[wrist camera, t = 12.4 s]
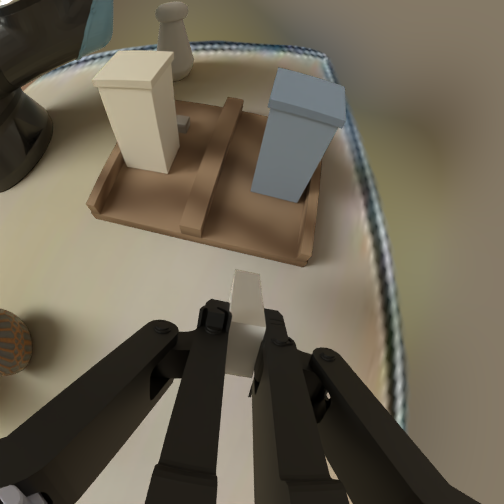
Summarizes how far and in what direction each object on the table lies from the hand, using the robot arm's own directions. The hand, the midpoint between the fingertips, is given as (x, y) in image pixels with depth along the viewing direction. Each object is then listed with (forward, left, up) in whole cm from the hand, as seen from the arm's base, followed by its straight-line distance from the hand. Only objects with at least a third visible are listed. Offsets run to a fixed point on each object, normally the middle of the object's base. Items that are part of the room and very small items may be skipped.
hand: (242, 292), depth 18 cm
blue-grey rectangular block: (-9, +11, -8) cm, 16 cm away
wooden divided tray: (-14, +7, -10) cm, 19 cm away
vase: (-8, -23, -10) cm, 27 cm away
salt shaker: (-34, +11, -10) cm, 37 cm away
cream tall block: (-19, +1, -8) cm, 20 cm away
